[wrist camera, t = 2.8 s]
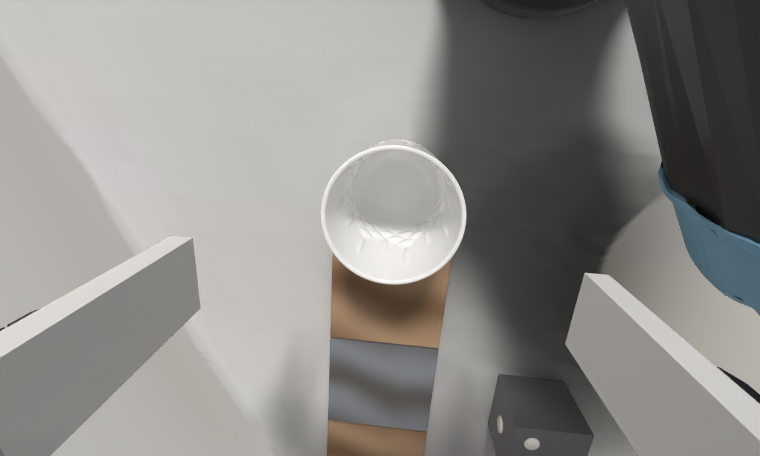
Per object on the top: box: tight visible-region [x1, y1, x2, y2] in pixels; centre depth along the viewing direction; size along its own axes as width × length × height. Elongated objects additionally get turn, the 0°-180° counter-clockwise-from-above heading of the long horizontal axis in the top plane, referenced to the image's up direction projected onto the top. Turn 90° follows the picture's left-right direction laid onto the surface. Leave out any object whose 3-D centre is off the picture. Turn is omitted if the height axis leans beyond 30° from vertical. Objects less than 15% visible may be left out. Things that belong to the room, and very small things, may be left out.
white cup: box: [321, 139, 466, 285], centre depth 24 cm, size 8×8×10 cm
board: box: [327, 254, 452, 456], centre depth 35 cm, size 30×10×1 cm, turn 176°
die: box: [488, 374, 594, 456], centre depth 32 cm, size 6×6×6 cm
